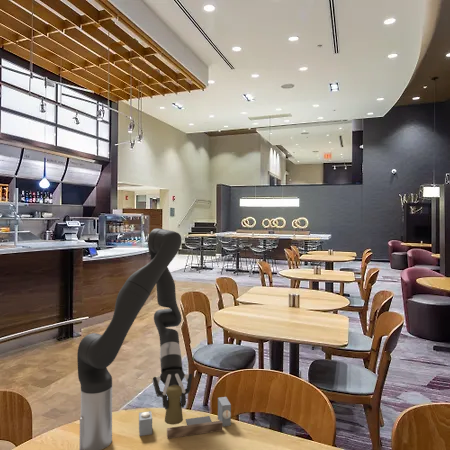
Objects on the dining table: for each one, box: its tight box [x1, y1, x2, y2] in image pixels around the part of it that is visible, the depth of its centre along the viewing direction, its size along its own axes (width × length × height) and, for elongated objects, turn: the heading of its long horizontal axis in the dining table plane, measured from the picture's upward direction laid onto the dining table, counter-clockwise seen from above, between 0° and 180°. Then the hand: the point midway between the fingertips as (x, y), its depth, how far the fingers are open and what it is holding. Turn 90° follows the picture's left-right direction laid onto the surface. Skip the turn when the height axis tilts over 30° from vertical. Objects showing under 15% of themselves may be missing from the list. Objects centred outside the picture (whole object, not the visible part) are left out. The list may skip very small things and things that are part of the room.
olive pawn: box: [164, 385, 184, 425], centre depth 122 cm, size 6×6×11 cm
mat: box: [185, 415, 213, 425], centre depth 125 cm, size 8×8×1 cm
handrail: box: [166, 420, 224, 439], centre depth 120 cm, size 18×2×2 cm, turn 105°
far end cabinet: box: [217, 396, 232, 427], centre depth 126 cm, size 3×7×7 cm, turn 15°
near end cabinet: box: [138, 410, 153, 437], centre depth 121 cm, size 4×5×6 cm
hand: (174, 407), depth 121 cm, fingers closed on olive pawn, 5 cm apart
